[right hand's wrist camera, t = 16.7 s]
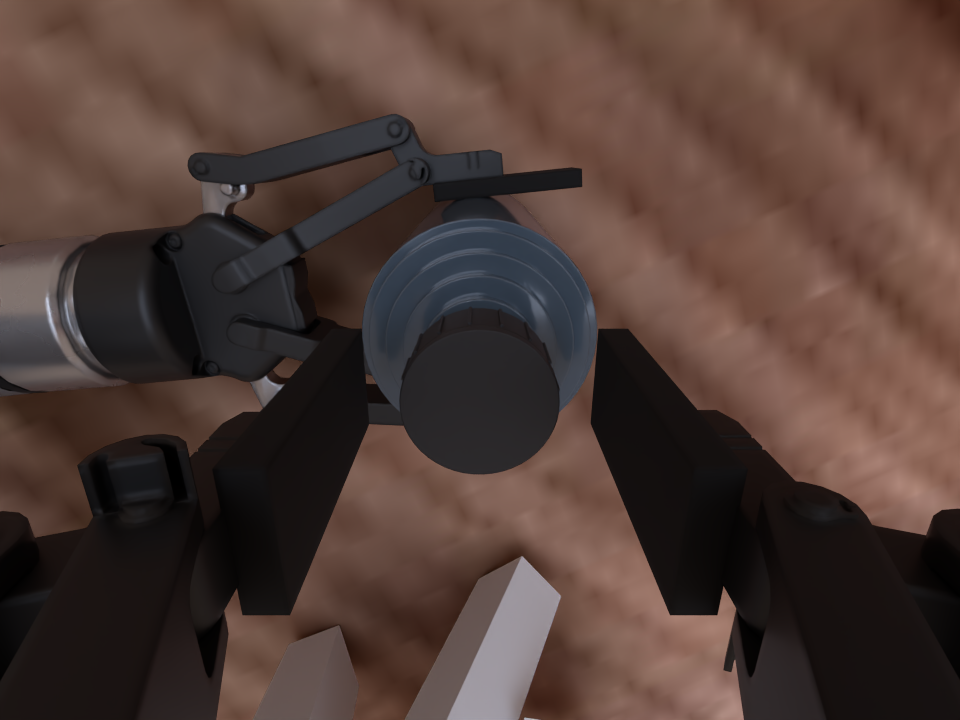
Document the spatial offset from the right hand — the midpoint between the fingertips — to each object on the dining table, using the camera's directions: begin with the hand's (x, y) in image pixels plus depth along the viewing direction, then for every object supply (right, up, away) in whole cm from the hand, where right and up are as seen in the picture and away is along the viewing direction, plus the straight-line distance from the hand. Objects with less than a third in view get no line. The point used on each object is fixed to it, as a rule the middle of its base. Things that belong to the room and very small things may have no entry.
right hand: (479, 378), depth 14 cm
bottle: (0, +7, +18) cm, 20 cm away
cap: (0, -1, -1) cm, 1 cm away
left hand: (+5, +5, +12) cm, 14 cm away
